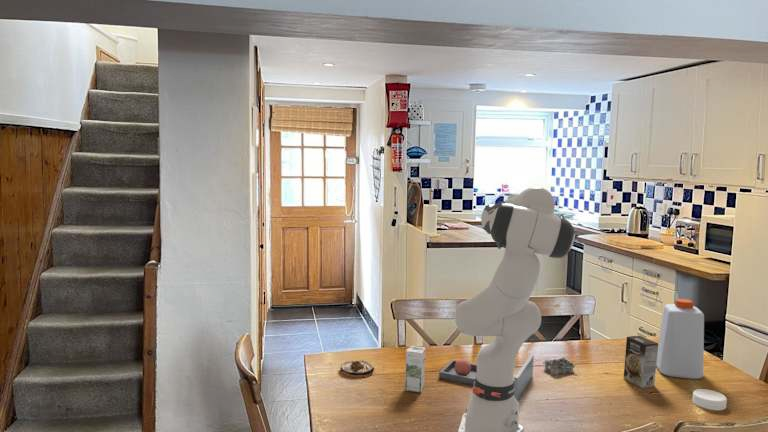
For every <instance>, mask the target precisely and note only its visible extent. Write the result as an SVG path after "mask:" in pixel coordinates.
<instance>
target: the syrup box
mask: <svg viewBox="0 0 768 432" xmlns="http://www.w3.org/2000/svg"><path fill="white" fill-rule="evenodd" d="M405 353H406V354H405V382H404V386H405V387H404V391H406V392H410V393H412V392H414V393H419V394H422V391H423V390H424V387H425V369H426V368H425V367H426V347H422V346H414V345H409V346H408V347H407V349H406V352H405Z"/></svg>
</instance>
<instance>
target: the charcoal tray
mask: <svg viewBox="0 0 768 432" xmlns="http://www.w3.org/2000/svg"><path fill="white" fill-rule="evenodd" d="M457 361H458V360H457V359H451V360H450V361H449V362H448V363H447V364H446V365H445V366H444V367H443V368H442V369H441V370H440V371H439V373H438V375H439V376H438V378H439V379H440V378H441V379H442V380H445V381H451V382H454V383H460V384H464V385H469V386H472V387H474V381H475V377H476V372H477V363H473V362H469V363H470V365H471V371H470V373H469V374H468V375H466V376H462V375H458V374H457V373H456V371H455V364H456V362H457ZM441 379H440V380H441Z"/></svg>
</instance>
